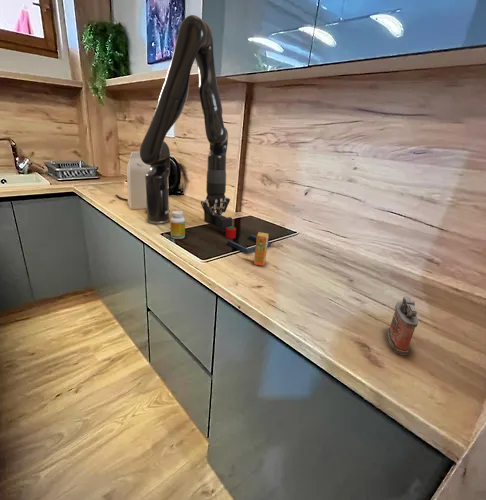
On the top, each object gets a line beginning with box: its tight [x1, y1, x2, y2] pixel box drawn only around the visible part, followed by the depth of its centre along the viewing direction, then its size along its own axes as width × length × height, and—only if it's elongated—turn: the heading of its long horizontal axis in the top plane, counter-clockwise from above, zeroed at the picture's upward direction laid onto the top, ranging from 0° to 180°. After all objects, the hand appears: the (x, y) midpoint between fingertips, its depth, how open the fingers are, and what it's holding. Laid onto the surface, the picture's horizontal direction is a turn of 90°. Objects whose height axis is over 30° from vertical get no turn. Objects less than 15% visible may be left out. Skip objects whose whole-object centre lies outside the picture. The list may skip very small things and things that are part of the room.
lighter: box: [386, 295, 419, 356], centre depth 62 cm, size 8×3×10 cm, turn 163°
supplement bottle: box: [169, 210, 186, 240], centre depth 113 cm, size 5×5×10 cm
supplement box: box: [253, 231, 270, 267], centre depth 94 cm, size 3×3×10 cm
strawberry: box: [224, 226, 237, 240], centre depth 117 cm, size 4×4×4 cm
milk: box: [126, 151, 150, 210], centre depth 149 cm, size 12×12×26 cm
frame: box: [227, 234, 272, 255], centre depth 110 cm, size 10×12×2 cm
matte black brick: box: [203, 211, 233, 232], centre depth 123 cm, size 14×5×4 cm, turn 39°
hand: (215, 223), depth 124 cm, fingers closed on matte black brick, 2 cm apart
